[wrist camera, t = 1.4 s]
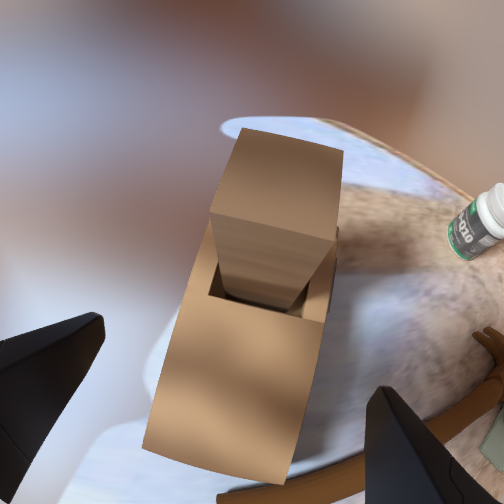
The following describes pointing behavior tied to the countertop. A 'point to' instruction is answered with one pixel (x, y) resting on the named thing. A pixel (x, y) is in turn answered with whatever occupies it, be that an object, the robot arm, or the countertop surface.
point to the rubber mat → (495, 442)
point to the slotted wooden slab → (238, 375)
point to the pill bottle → (478, 225)
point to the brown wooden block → (274, 216)
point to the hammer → (353, 470)
